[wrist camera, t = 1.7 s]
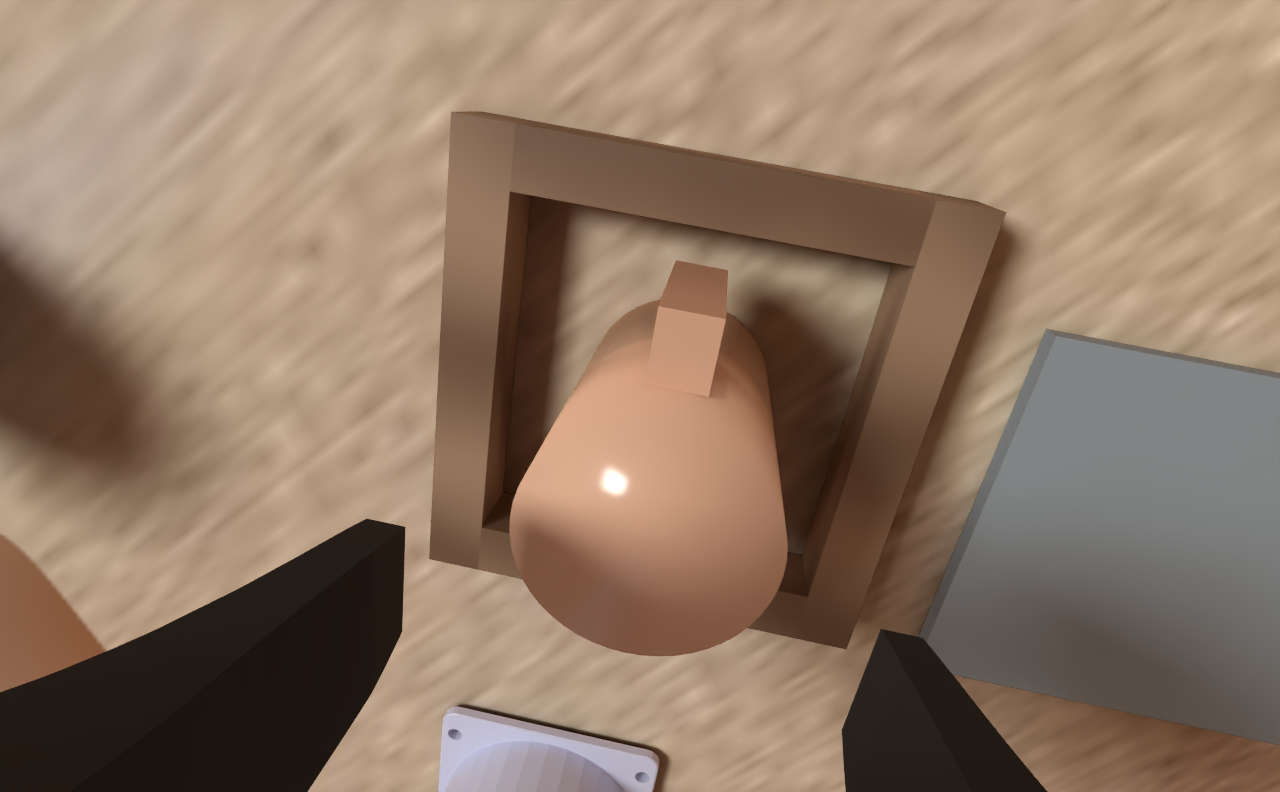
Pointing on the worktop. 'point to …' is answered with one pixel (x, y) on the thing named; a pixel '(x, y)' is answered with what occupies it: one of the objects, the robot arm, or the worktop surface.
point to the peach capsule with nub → (659, 482)
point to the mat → (1127, 541)
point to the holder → (721, 200)
